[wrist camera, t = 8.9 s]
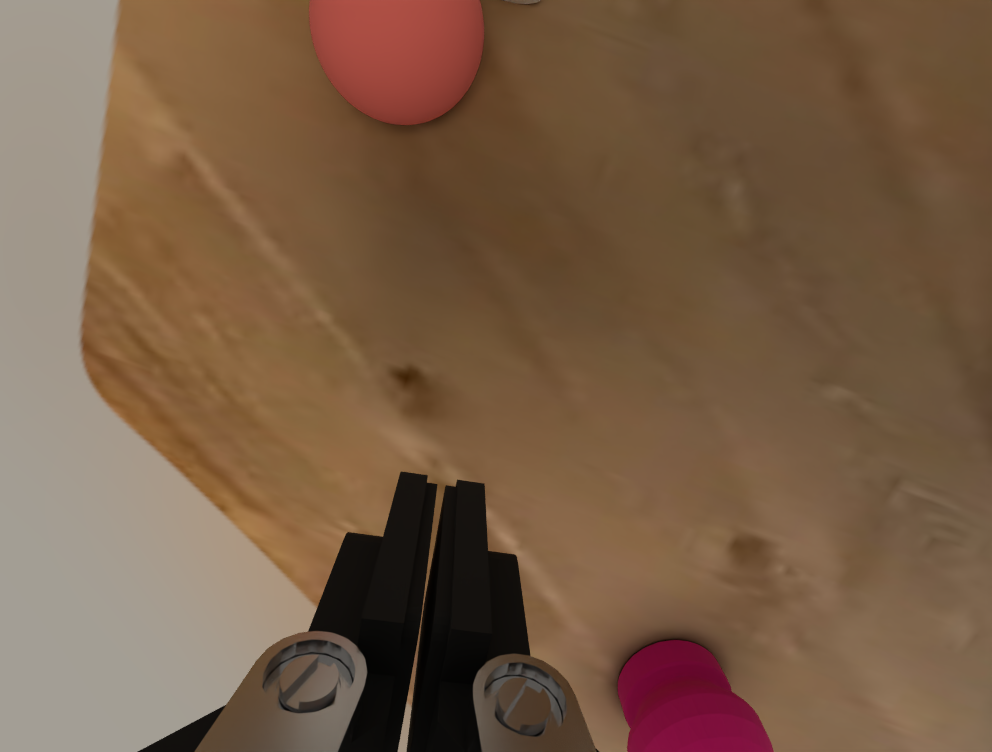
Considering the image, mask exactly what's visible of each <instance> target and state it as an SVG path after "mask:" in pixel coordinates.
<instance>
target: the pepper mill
mask: <svg viewBox="0 0 992 752" xmlns="http://www.w3.org/2000/svg"><path fill="white" fill-rule="evenodd" d="M618 695H619V699H620V702H621V705H622V708H623V712H624V715H625V718H626V721H627V723H628V725H629V727H630V728H631V730H630V732H629V737H628V746H627V751H628V752H774V751H773V748H772V744H771V742H770V739H769V737H768V735H767V733H766V731H765V729H764V727H763V725H762V723H761V721H760V719H759V717H758V715H757V714H756V712H755V711H754V710H753V708H752V707H751V706H750V705H749V704H748V703H747V702H746V701H744V700H743V699H742V698H740V697H739V696H737V695H736V694H735V693H733V692H732V691H731V687H730V684H729V682H728V680H727V678H726V676H725V674H724V673H723V671H722V669H721V667H720V665H719V664H718V662H717V660H716V659H715V657H714V656H713V655H712V654H711V653H710V652H709V651H708V650H707V649H705V648H703V647H702V646H700V645H698V644H695V643H692V642H689V641H682V640H670V641H662V642H657V643H655V644H652V645H650V646H647V647H645V648H643V649H642V650H640V651H639V652H637V653H636V654H634V655H633V656H632V657H631V659H630V660H629V661H628V662H627V663H626V664H625V666H624V668H623V670H622V672H621V673H620V676H619V680H618Z"/></svg>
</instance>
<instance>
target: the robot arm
mask: <svg viewBox="0 0 992 752" xmlns="http://www.w3.org/2000/svg"><path fill="white" fill-rule="evenodd" d="M427 477H428V475H421V474H415V473H408V472H400V476H399V480H398V483H397V487H396V491H395V495H394V498H393V502H392V506H391V510H390V513H389V517H388V521H387V524H386V528H385V532H384V536H383V537H380V536H373V535H365V534H358V533H350V532H348V533H347V534H346V536H345V538H344V540H343V543H342V545H341V548H340V551H339V553H338V556H337V558H336V561H335V564H334V566H333V569H332V571H331V574H330V576H329V579H328V582H327V584H326V587H325V589H324V592H323V595H322V597H321V600H320V602H319V605H318V608H317V610H316V613H315V615H314V618H313V621H312V623H311V626H310V628H309V631H308V632H303V633H298V634H295V635H292V636H289V637H286V638H284V639H282V640H280V641H279V642H277V643H275V644H274V645H272V646H271V647H269V648H268V649H267V650H266V651H265V652H264V653H263V654H262V655H261V656H260V658H259V659H258V660H257V661H256V662H255V664H254V665H253V667H252V668H251V670H250V671H249V673H248V674H247V675H246V677H245V678H244V680H243V681H242V683H241V684H240V686H239V687H238V689H237V690H236V692H235V693H234V695H233V696H232V697H231V699H230V700H229V702H228V703H227V705H225V706H223V707H221V708H219V709H217V710H215V711H214V712H212V713H210V714H208V715H206V716H204V717H202V718H200V719H199V720H197V721H195V722H193V723H191V724H189V725H187V726H186V727H183V728H182V729H180V730H178V731H176V732H174V733H172V734H170V735H168V736H166V737H165V738H163V739H161V740H159V741H157V742H155V743H153V744H151V745H149V746H148V747H146V748H144V749H142V750H140V751H138V752H397V751H398V745H399V740H400V734H401V729H402V724H403V718H404V712H405V707H406V702H407V696H408V690H409V685H410V679H411V674H412V668H413V663H414V657H415V652H416V646H417V640H418V634H419V628H420V621H421V614H422V606H423V598H424V590H425V582H426V573H427V565H428V557H429V549H430V540H431V532H432V524H433V516H434V508H435V499H436V491H437V484H433V483H427ZM407 752H599V751H598V750H597V749H596V748H595V746H594V743H593V741H592V738H591V736H590V733H589V730H588V728H587V725H586V722H585V720H584V717H583V714H582V712H581V709H580V706H579V704H578V701H577V698H576V696H575V694H574V692H573V690H572V688H571V687H570V685H569V683H568V681H567V680H566V679H565V678H564V677H563V676H562V675H561V674H560V673H559V672H558V671H557V670H556V669H555V668H553V667H552V666H550V665H549V664H547V663H546V662H544V661H542V660H539V659H537V658H534V657H531V656H530V649H529V642H528V634H527V627H526V620H525V612H524V605H523V597H522V590H521V583H520V575H519V568H518V561H517V557H516V555H514V554H507V553H499V552H492V551H488V542H487V523H486V504H485V486H484V484H483V483H476V482H469V481H462V480H457V483H456V487H453V486H447V485H446V487H445V492H444V497H443V503H442V508H441V514H440V519H439V525H438V530H437V536H436V541H435V547H434V553H433V558H432V564H431V569H430V575H429V580H428V586H427V591H426V597H425V603H424V610H423V617H422V625H421V634H420V642H419V651H418V659H417V668H416V676H415V685H414V693H413V702H412V710H411V719H410V728H409V735H408V745H407Z"/></svg>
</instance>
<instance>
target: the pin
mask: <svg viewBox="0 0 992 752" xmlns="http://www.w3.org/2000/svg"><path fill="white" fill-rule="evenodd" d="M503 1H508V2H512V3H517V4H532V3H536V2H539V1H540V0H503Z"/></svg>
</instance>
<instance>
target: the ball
mask: <svg viewBox="0 0 992 752" xmlns="http://www.w3.org/2000/svg"><path fill="white" fill-rule="evenodd" d="M309 20H310V30H311V35H312V40H313V44H314V48H315V51H316V54H317V57H318V59H319V61H320V63H321V66H322V68H323V70H324V72H325V73H326V75H327V77H328V78H329V80H330V82H331V83H332V84H333V86H334V87H335V88H336V89H337V91H338V92H339V93H340V94H341V95H342V96H343V97H344V98H345V99H346V100H347V101H348V102H349V103H350V104H351V105H353V106H354V107H355V108H357V109H358V110H359V111H361V112H363V113H364V114H366V115H368V116H370V117H372V118H374V119H377V120H379V121H382V122H385V123H390V124H396V125H414V124H420V123H425V122H428V121H431V120H433V119H435V118H437V117H439V116H441V115H443V114H444V113H446V112H447V111H449V110H450V109H451V108H453V107H454V106H455V105H456V104H457V103H458V102H459V101H460V100H461V99H462V97H463V96H464V94H465V93H466V92H467V90H468V89H469V88H470V86H471V84H472V82H473V80H474V78H475V76H476V73H477V70H478V68H479V65H480V61H481V57H482V52H483V43H484V21H483V14H482V7H481V3H480V0H310V5H309Z"/></svg>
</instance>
